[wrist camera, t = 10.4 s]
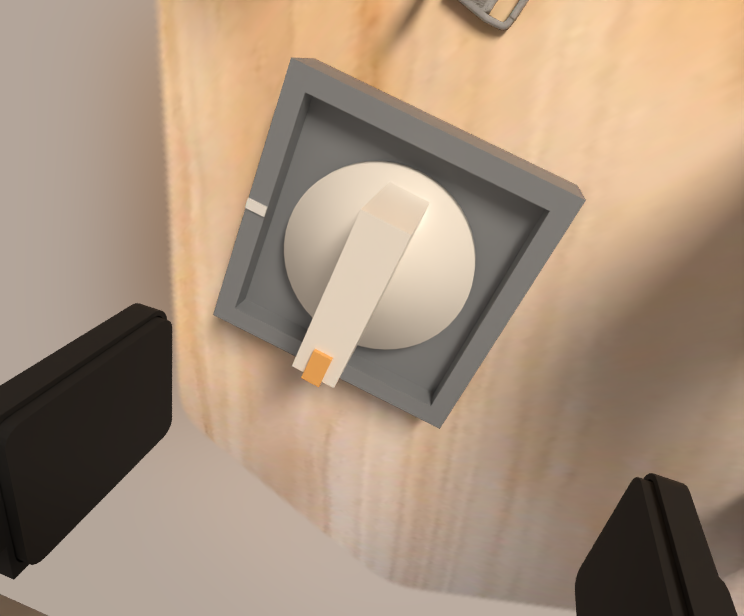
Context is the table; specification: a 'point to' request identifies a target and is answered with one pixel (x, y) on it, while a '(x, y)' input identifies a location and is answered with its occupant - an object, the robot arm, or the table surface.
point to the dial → (375, 263)
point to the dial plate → (432, 157)
